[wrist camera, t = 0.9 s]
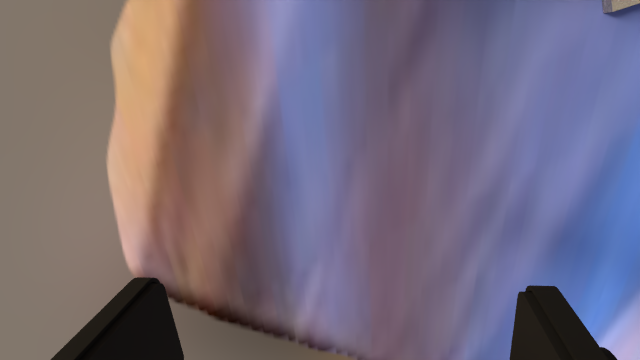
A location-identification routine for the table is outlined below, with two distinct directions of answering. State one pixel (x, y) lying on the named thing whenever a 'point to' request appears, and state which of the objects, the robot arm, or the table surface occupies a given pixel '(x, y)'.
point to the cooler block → (617, 4)
